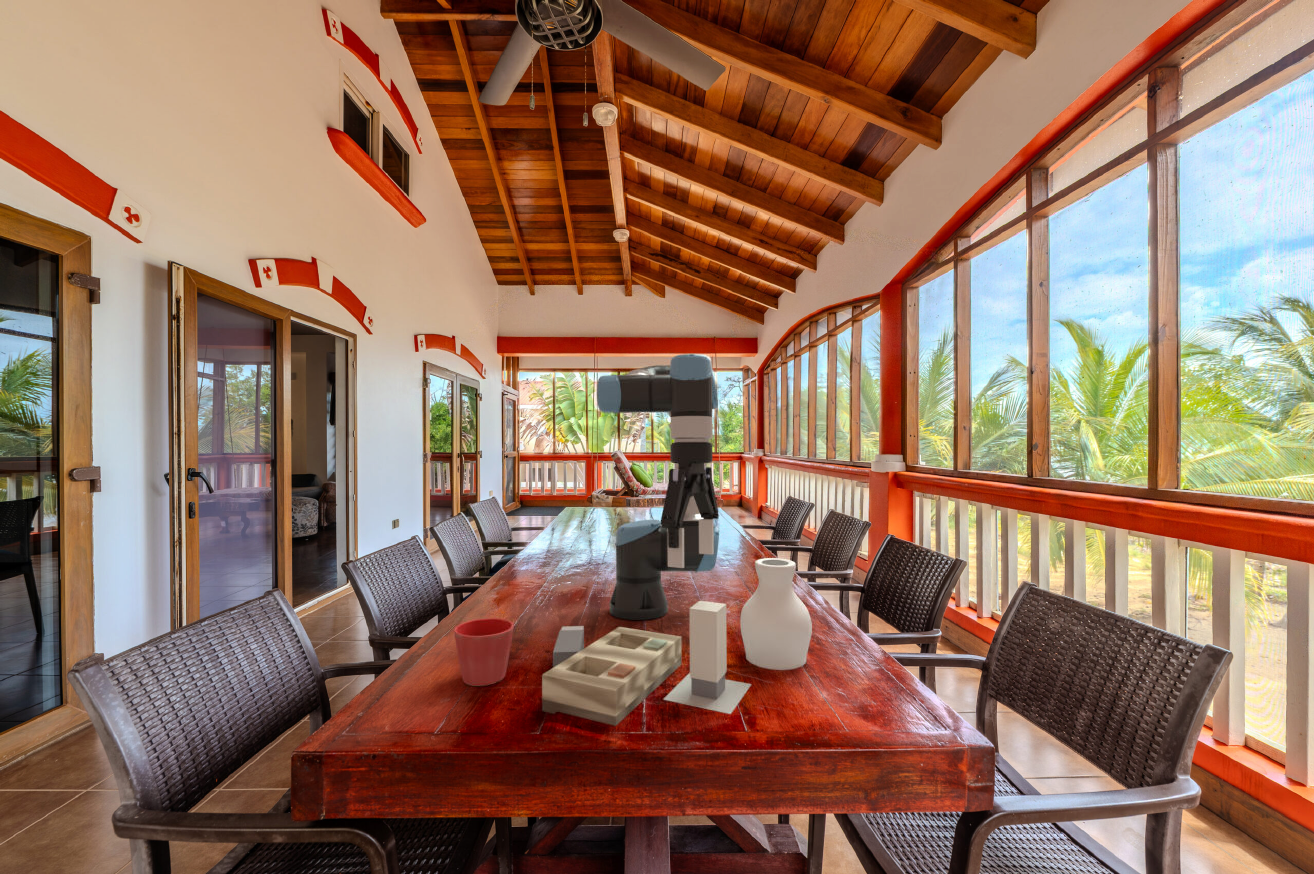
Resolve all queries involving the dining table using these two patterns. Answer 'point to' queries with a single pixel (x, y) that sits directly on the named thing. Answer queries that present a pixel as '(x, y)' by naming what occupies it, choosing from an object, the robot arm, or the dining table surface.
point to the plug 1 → (568, 643)
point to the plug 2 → (708, 649)
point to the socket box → (611, 675)
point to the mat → (722, 704)
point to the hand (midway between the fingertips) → (692, 560)
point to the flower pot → (483, 650)
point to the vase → (775, 619)
